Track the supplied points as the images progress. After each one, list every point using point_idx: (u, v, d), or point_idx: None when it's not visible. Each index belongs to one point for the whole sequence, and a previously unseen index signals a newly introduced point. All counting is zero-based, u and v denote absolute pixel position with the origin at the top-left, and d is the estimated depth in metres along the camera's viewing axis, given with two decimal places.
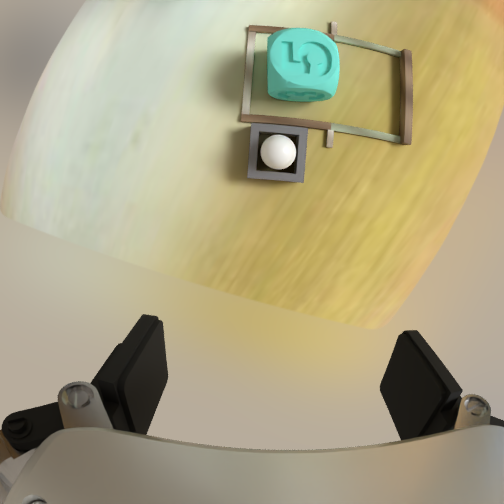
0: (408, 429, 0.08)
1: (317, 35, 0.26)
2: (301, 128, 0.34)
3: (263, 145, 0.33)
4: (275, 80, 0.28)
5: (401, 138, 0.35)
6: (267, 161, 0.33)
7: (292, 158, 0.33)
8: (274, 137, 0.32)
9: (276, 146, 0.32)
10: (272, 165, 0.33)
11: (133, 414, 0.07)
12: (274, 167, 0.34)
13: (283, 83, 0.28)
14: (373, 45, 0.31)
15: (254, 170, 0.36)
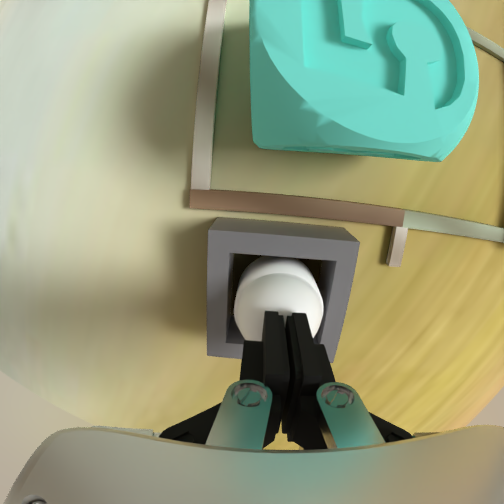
0: (284, 412, 0.09)
1: None
2: (343, 243, 0.13)
3: (240, 303, 0.13)
4: (276, 112, 0.08)
5: None
6: None
7: (313, 336, 0.13)
8: (269, 288, 0.12)
9: None
10: None
11: (283, 403, 0.08)
12: None
13: (307, 126, 0.08)
14: (478, 36, 0.11)
15: (222, 342, 0.15)
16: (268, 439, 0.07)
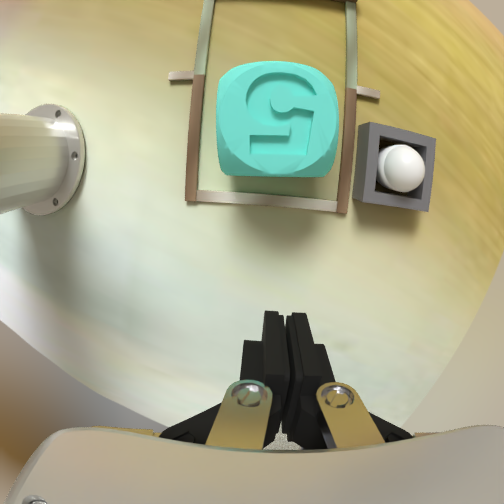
0: (284, 412, 0.09)
1: (231, 93, 0.17)
2: (370, 131, 0.22)
3: (397, 188, 0.22)
4: (322, 166, 0.19)
5: (349, 0, 0.20)
6: (418, 185, 0.22)
7: (416, 151, 0.21)
8: (391, 172, 0.22)
9: (407, 173, 0.21)
10: None
11: (283, 404, 0.08)
12: None
13: (330, 154, 0.18)
14: (204, 22, 0.21)
15: (421, 201, 0.23)
16: (268, 439, 0.07)
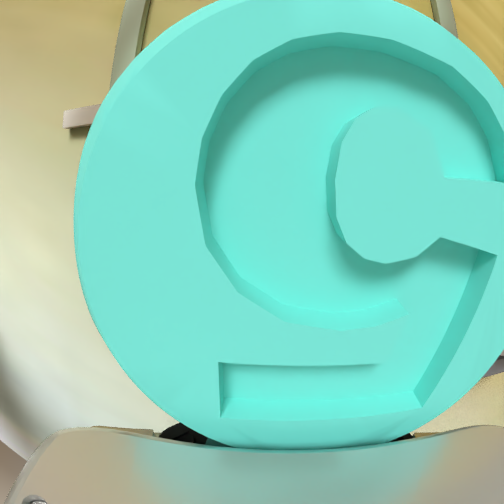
0: None
1: (124, 143, 0.03)
2: None
3: None
4: None
5: None
6: None
7: None
8: None
9: None
10: None
11: None
12: None
13: None
14: None
15: None
16: None
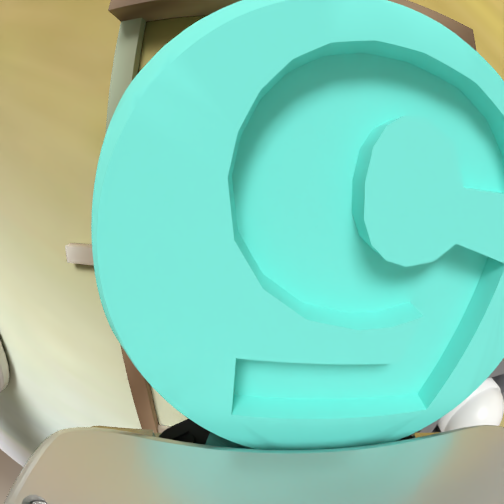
0: None
1: (155, 130, 0.03)
2: None
3: None
4: None
5: None
6: None
7: (500, 399, 0.09)
8: None
9: None
10: None
11: None
12: None
13: None
14: None
15: None
16: None
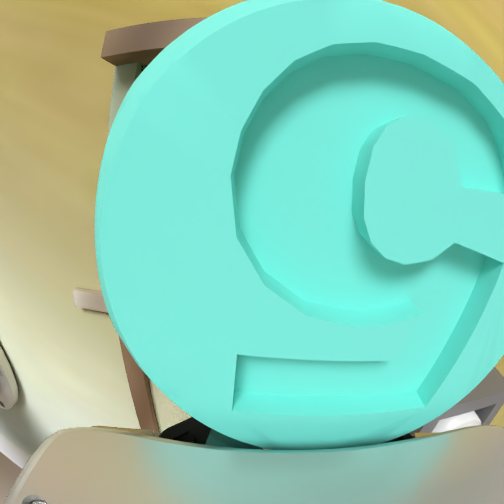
0: None
1: (159, 128, 0.03)
2: None
3: None
4: None
5: None
6: None
7: None
8: None
9: None
10: None
11: None
12: None
13: None
14: None
15: None
16: None
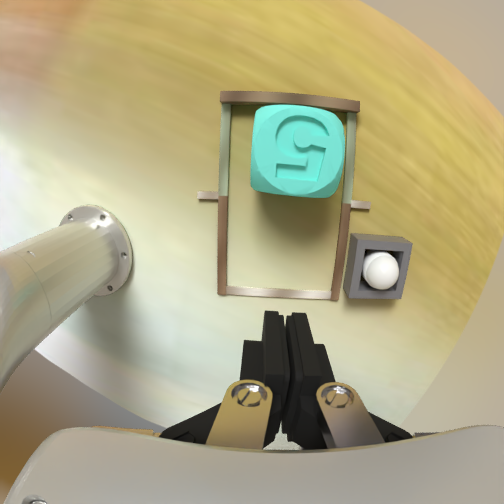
0: (284, 412, 0.09)
1: (265, 129, 0.23)
2: (358, 246, 0.31)
3: (376, 288, 0.31)
4: (329, 190, 0.25)
5: (350, 112, 0.29)
6: (392, 285, 0.31)
7: (392, 261, 0.30)
8: (370, 279, 0.31)
9: (383, 281, 0.30)
10: None
11: (283, 404, 0.08)
12: None
13: (335, 181, 0.25)
14: (223, 142, 0.31)
15: (395, 292, 0.32)
16: (268, 439, 0.07)
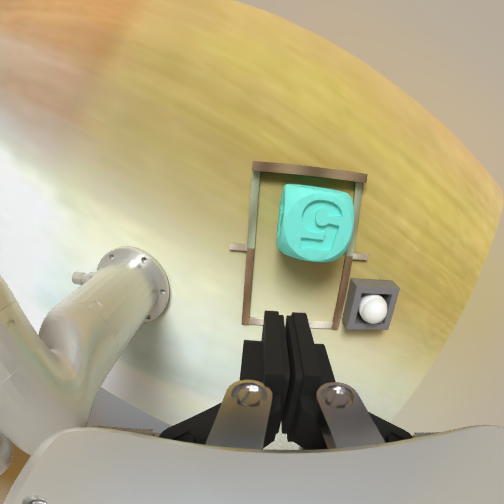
0: (284, 412, 0.09)
1: (294, 210, 0.31)
2: (356, 291, 0.39)
3: (368, 322, 0.40)
4: (338, 256, 0.33)
5: (358, 181, 0.37)
6: (381, 320, 0.39)
7: (382, 302, 0.38)
8: (364, 316, 0.39)
9: (374, 318, 0.38)
10: (385, 316, 0.39)
11: (284, 404, 0.08)
12: None
13: (344, 250, 0.33)
14: (253, 205, 0.39)
15: (383, 325, 0.41)
16: (268, 439, 0.07)
